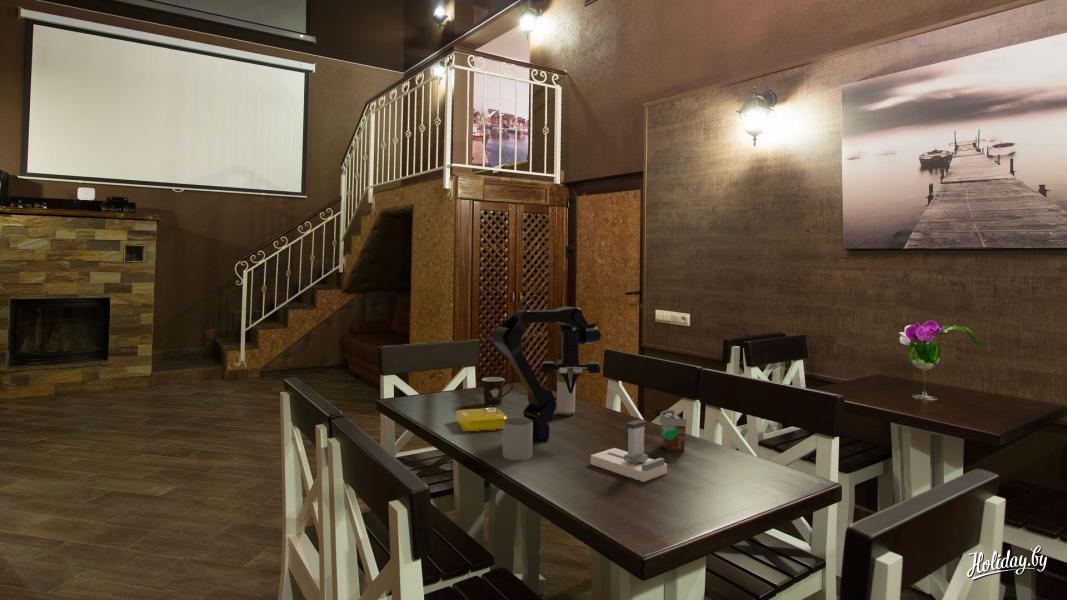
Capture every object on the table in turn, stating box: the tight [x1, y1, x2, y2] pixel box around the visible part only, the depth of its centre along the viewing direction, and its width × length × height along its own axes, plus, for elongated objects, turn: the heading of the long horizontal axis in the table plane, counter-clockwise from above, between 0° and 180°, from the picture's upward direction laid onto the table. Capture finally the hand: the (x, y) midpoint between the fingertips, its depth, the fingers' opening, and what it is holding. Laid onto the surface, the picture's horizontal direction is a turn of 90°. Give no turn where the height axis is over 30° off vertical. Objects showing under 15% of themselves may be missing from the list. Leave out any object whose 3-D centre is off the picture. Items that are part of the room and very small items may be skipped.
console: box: [590, 447, 668, 483], centre depth 160 cm, size 18×10×4 cm, turn 42°
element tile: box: [456, 407, 508, 432], centre depth 203 cm, size 15×15×5 cm
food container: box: [658, 409, 687, 452], centre depth 180 cm, size 12×6×10 cm, turn 5°
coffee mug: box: [481, 376, 514, 407], centre depth 232 cm, size 12×9×10 cm
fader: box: [624, 418, 649, 464], centre depth 158 cm, size 4×6×10 cm
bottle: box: [556, 359, 577, 417], centre depth 218 cm, size 7×7×30 cm
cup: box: [502, 417, 533, 461], centre depth 170 cm, size 8×8×10 cm
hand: (570, 393), depth 193 cm, fingers closed
